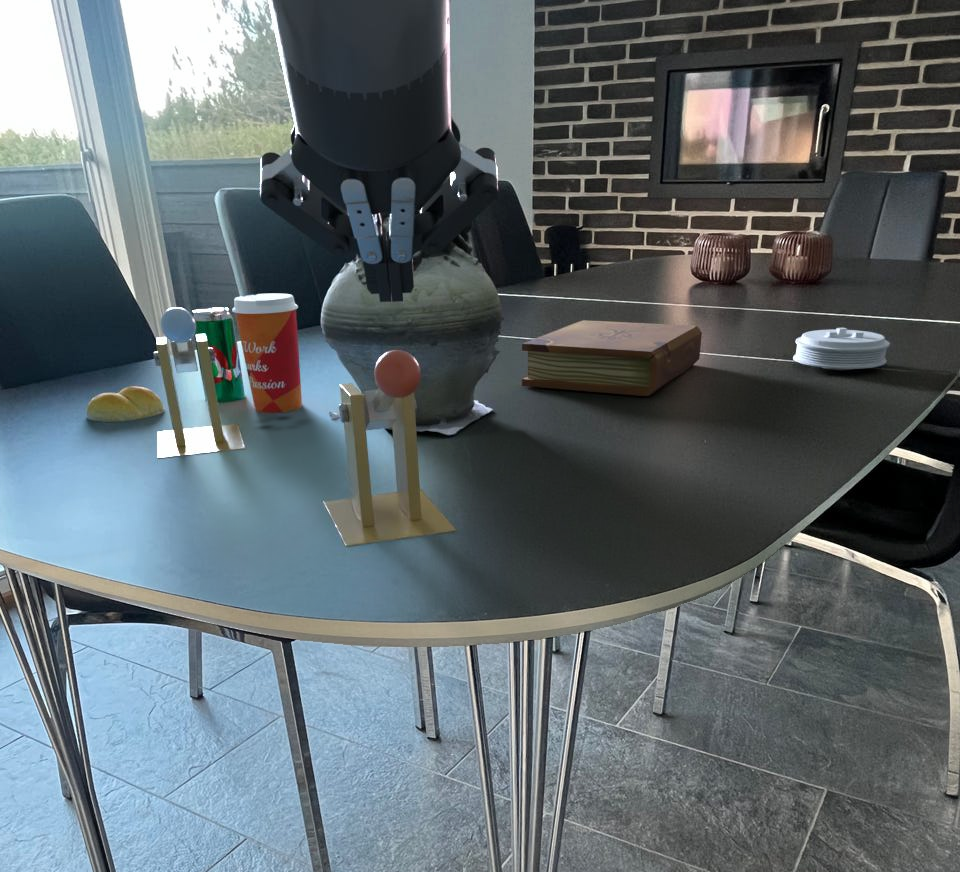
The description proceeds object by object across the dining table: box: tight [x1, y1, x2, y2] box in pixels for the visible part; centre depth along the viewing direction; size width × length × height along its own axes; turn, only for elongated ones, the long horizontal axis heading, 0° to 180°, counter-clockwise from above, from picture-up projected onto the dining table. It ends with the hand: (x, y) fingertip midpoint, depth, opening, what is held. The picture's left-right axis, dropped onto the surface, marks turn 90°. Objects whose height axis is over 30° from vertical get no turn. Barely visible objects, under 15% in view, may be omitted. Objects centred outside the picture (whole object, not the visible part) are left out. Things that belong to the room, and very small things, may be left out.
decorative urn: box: [320, 175, 505, 436], centre depth 98 cm, size 21×21×35 cm
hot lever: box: [363, 350, 421, 431], centre depth 64 cm, size 12×3×3 cm, turn 18°
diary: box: [521, 319, 703, 397], centre depth 123 cm, size 23×19×6 cm
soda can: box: [192, 306, 246, 404], centre depth 110 cm, size 5×5×12 cm
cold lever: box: [160, 306, 199, 374], centre depth 86 cm, size 12×3×3 cm, turn 18°
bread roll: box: [86, 386, 166, 423], centre depth 106 cm, size 8×9×4 cm
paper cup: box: [231, 292, 303, 414], centre depth 105 cm, size 8×8×14 cm
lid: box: [792, 327, 891, 371], centre depth 125 cm, size 13×13×5 cm
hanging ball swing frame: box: [153, 334, 246, 459], centre depth 93 cm, size 11×9×12 cm
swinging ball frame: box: [323, 382, 457, 548], centre depth 70 cm, size 11×9×12 cm
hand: (392, 290), depth 54 cm, fingers closed
